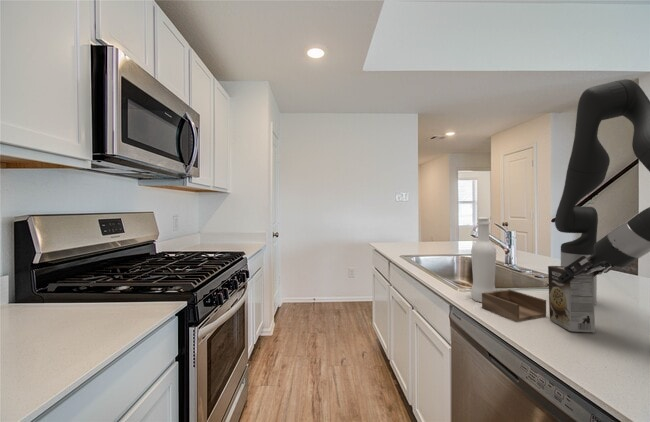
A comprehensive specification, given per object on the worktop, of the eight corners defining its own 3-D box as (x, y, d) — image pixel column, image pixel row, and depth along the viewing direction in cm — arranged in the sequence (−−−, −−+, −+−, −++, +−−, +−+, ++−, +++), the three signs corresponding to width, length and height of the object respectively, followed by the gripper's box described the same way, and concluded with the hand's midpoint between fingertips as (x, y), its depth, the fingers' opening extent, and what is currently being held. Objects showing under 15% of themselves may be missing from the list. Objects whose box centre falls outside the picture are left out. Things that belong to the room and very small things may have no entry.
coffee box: (548, 320, 87) (546, 265, 88) (572, 320, 86) (570, 265, 87) (569, 331, 78) (567, 271, 79) (596, 332, 77) (594, 271, 78)
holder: (509, 303, 102) (509, 289, 102) (546, 316, 90) (546, 300, 90) (481, 307, 98) (481, 293, 98) (516, 322, 86) (516, 305, 86)
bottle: (500, 304, 101) (500, 217, 100) (474, 303, 103) (474, 217, 102) (491, 297, 109) (491, 216, 108) (468, 296, 111) (468, 216, 110)
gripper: (629, 231, 75) (578, 266, 86) (593, 233, 71) (543, 270, 82) (658, 255, 70) (599, 289, 81) (620, 258, 66) (564, 294, 77)
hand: (571, 279), depth 82 cm, fingers closed on coffee box, 8 cm apart
